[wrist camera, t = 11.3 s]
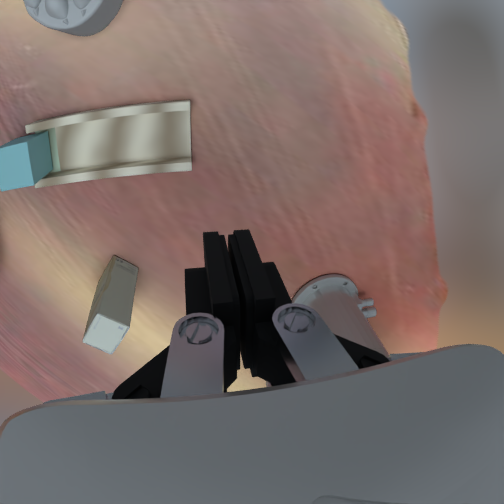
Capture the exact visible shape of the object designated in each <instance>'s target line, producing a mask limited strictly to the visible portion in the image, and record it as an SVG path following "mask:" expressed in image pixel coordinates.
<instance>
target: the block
mask: <svg viewBox="0 0 504 504" xmlns="http://www.w3.org/2000/svg"><path fill="white" fill-rule="evenodd" d="M51 170H53V165H52V159H51V152H50V144H49V136H48V131H45V132H41V133H36V134H32V135H28V136H24V137H19V138H16V139H14V140H12V141H10V142H8V143H6V144H4V145H2V146H0V189H1V191H6V190H11V189H16V188H21V187H27V186H32V185H35V184H36V183H37V182H38V181H40V180H41V179H42V178H43V177H44V176H45V175H47V174H48V173H49V172H50V171H51Z"/></svg>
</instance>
